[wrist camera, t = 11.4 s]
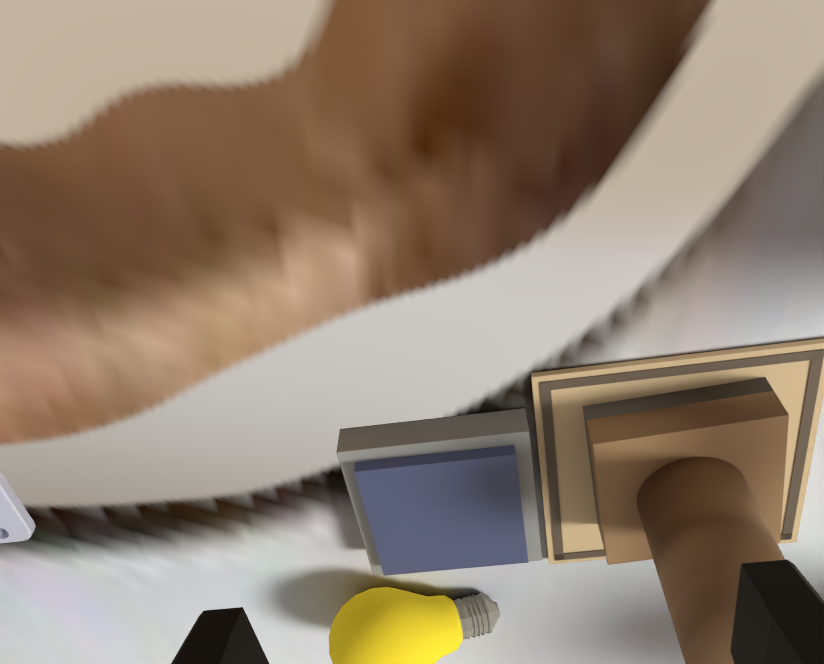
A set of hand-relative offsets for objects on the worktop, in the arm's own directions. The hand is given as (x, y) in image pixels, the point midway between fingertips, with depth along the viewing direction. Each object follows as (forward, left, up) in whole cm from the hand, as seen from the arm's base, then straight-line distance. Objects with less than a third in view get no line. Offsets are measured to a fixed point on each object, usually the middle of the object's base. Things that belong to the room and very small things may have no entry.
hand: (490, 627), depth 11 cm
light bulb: (-3, -13, -10) cm, 17 cm away
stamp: (+6, -7, -10) cm, 13 cm away
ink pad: (-2, -7, -10) cm, 12 cm away
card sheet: (+6, -7, -10) cm, 13 cm away
